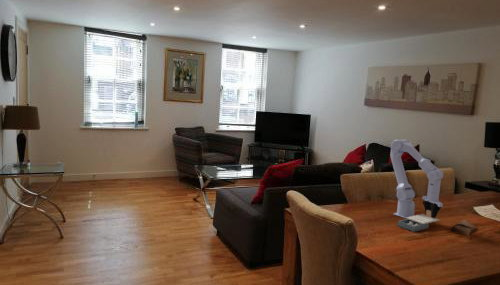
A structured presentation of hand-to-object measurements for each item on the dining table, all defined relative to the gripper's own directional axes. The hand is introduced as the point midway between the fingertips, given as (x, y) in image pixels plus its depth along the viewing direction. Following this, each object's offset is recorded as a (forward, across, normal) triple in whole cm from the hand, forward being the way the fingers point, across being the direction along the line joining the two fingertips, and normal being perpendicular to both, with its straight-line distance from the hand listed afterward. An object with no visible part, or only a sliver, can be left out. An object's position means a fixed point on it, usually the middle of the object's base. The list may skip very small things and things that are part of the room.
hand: (430, 216), depth 195 cm
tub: (+4, +6, -14) cm, 15 cm away
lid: (+2, +3, -6) cm, 7 cm away
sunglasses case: (+5, +9, +14) cm, 17 cm away
